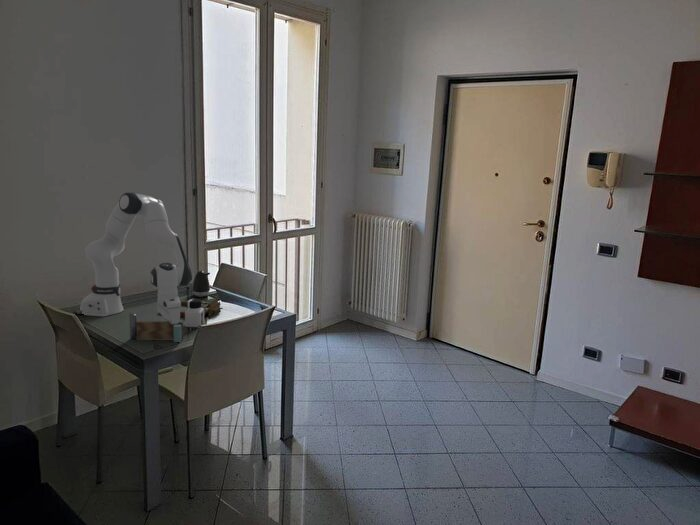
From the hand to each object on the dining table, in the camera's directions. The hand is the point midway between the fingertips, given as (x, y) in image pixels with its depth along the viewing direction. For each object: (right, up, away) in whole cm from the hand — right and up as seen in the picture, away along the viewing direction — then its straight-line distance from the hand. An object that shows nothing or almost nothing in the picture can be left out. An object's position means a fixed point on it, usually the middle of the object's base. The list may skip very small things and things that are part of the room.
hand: (168, 326), depth 241 cm
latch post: (+5, -7, -3) cm, 9 cm away
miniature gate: (0, +3, +38) cm, 38 cm away
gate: (-3, -5, -2) cm, 6 cm away
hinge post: (-15, -5, -3) cm, 16 cm away
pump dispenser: (-4, +10, +67) cm, 68 cm away
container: (+6, -2, +20) cm, 21 cm away
